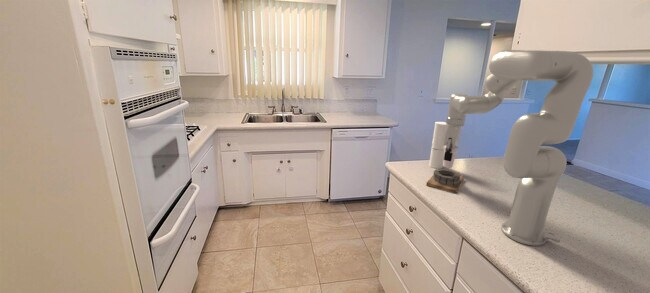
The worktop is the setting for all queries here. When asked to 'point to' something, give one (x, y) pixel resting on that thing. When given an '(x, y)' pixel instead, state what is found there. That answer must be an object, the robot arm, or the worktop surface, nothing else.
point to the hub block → (445, 180)
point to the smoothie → (454, 151)
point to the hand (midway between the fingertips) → (449, 158)
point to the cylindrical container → (438, 145)
